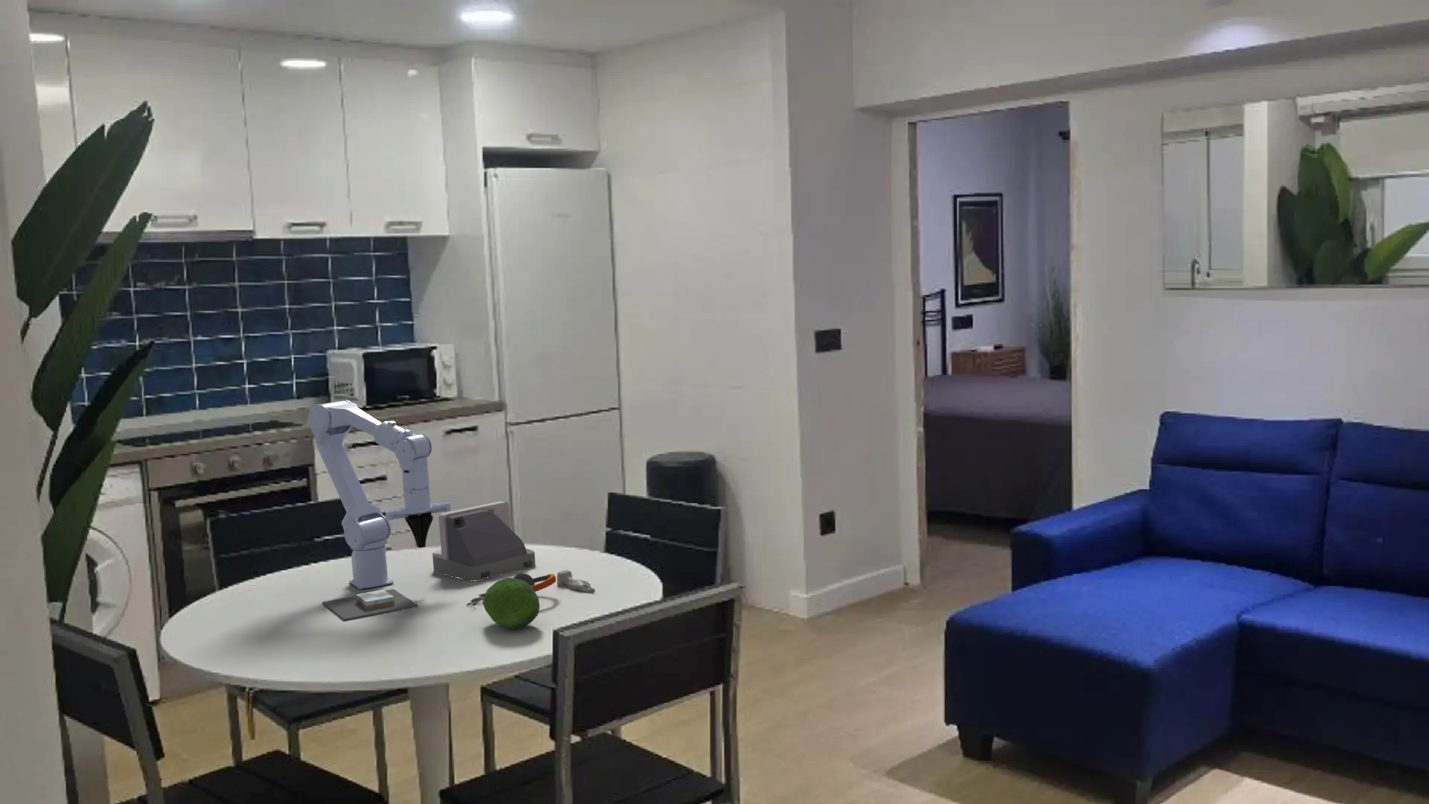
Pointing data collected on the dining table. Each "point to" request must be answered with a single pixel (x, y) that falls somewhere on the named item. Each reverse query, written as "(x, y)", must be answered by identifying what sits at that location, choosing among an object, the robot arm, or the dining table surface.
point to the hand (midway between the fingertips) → (421, 546)
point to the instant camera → (480, 543)
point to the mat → (353, 610)
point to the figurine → (573, 582)
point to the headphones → (531, 581)
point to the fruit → (511, 603)
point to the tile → (375, 599)
